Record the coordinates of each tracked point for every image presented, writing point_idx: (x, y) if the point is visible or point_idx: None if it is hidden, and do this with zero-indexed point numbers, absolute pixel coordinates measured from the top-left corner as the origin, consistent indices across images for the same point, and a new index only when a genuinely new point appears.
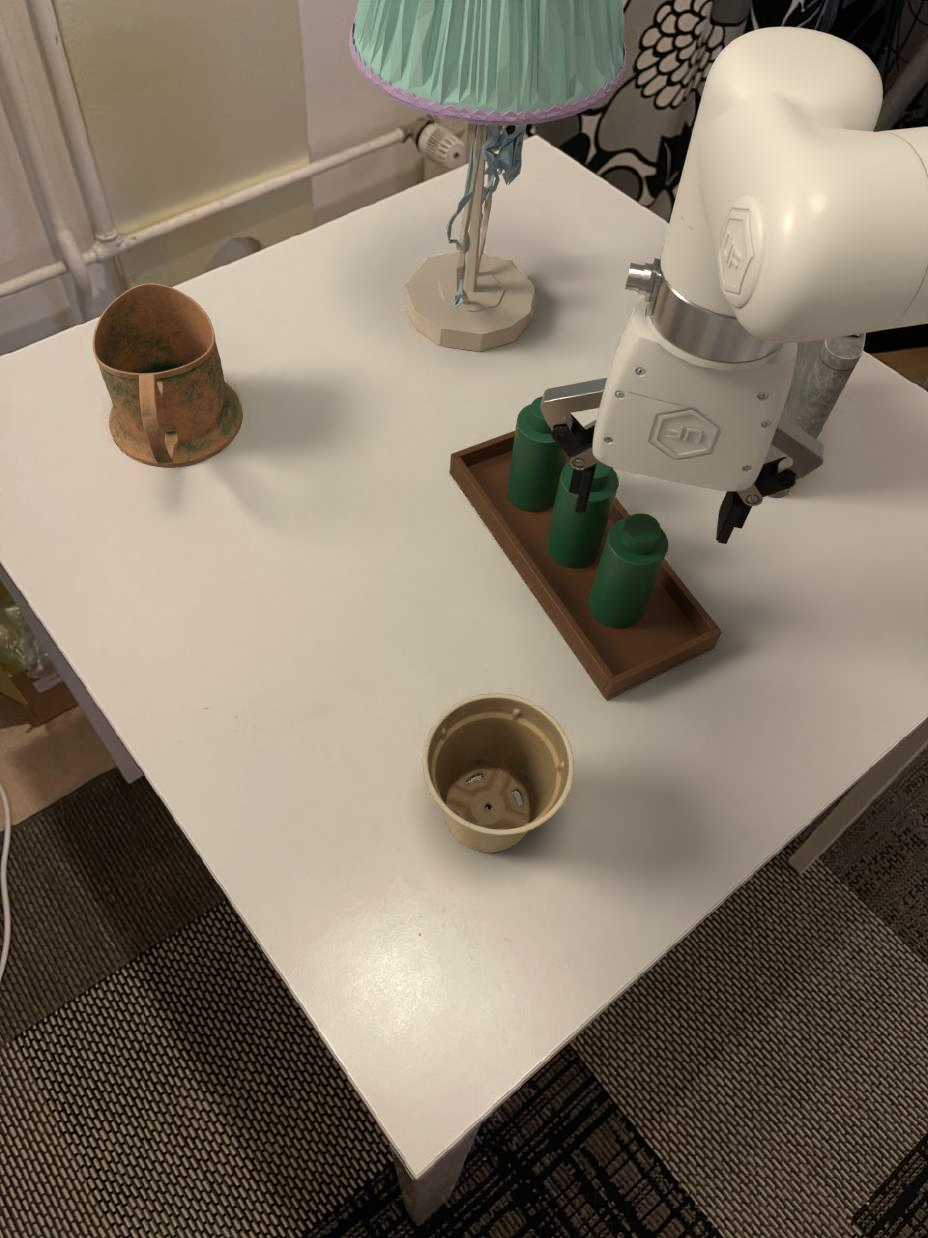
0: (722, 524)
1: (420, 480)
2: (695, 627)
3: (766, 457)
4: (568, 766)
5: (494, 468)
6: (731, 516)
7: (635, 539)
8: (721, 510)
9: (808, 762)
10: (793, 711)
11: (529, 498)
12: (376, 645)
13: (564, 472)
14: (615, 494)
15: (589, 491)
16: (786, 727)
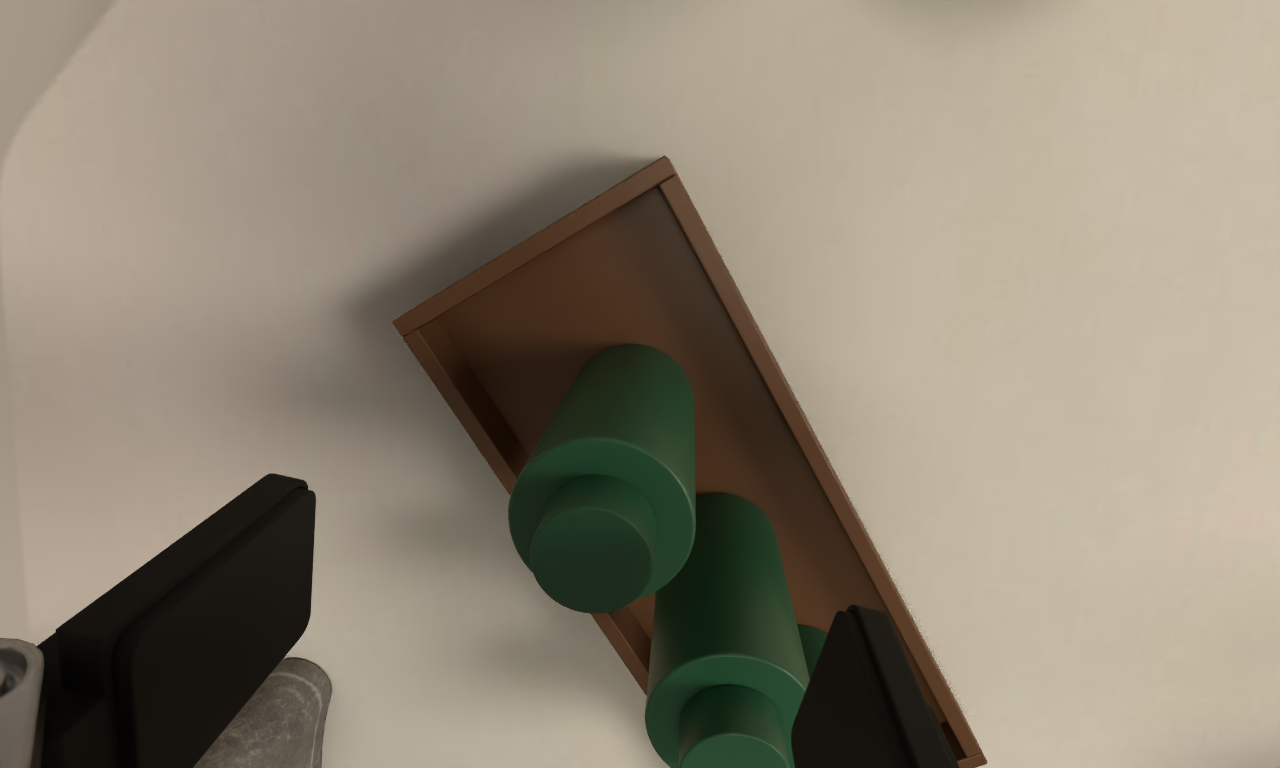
0: (254, 548)
1: (1029, 696)
2: (458, 351)
3: (304, 746)
4: None
5: None
6: (170, 580)
7: (618, 515)
8: (283, 619)
9: (215, 17)
10: (251, 154)
11: (818, 657)
12: (1208, 283)
13: None
14: (654, 674)
15: (883, 714)
16: (265, 110)
